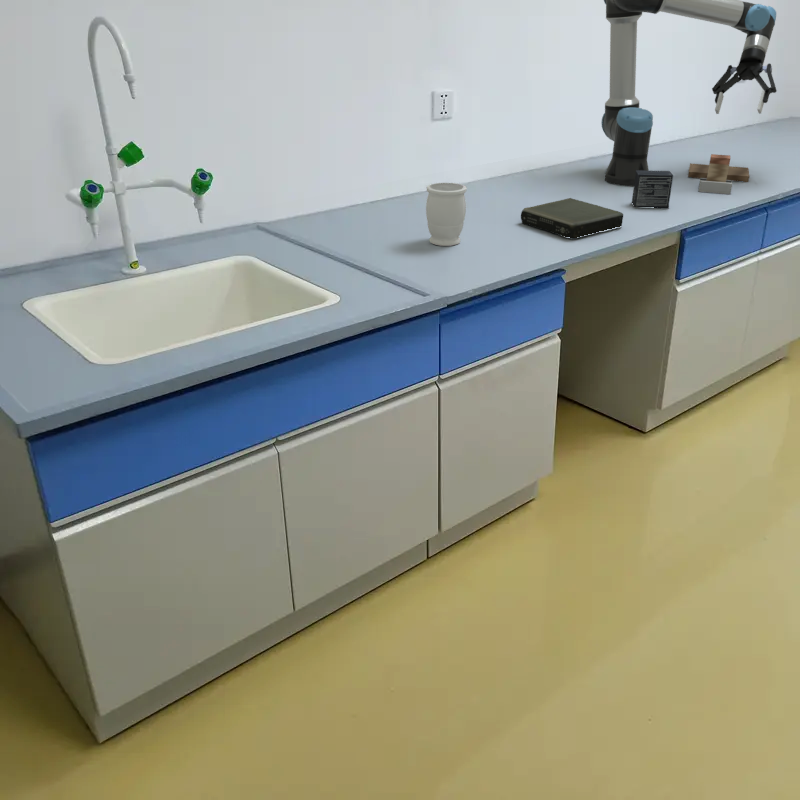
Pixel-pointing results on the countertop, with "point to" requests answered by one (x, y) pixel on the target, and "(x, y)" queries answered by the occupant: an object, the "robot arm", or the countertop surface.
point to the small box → (652, 189)
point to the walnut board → (733, 174)
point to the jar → (445, 212)
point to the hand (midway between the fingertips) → (737, 111)
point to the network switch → (571, 217)
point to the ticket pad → (718, 168)
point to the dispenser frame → (715, 186)
